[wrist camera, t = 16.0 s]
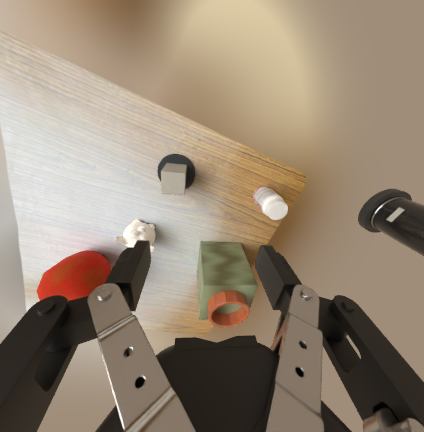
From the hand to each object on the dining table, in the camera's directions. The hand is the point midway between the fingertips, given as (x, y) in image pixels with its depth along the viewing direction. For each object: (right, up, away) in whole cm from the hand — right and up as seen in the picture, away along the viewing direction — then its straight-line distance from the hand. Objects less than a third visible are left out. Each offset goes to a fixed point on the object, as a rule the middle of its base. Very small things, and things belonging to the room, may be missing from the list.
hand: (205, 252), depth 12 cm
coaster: (-7, +12, +23) cm, 27 cm away
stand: (+2, -9, +36) cm, 37 cm away
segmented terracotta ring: (+4, -16, +23) cm, 28 cm away
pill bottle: (+12, +8, +28) cm, 31 cm away
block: (-7, +12, +23) cm, 27 cm away
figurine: (-17, -1, +29) cm, 34 cm away
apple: (-30, -8, +32) cm, 44 cm away
